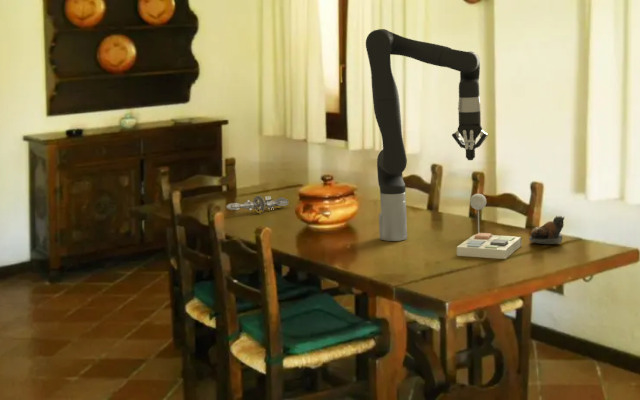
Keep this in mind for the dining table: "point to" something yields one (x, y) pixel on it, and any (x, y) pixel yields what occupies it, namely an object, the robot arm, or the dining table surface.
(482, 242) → the key slate
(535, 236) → the brown cat figurine
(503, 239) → the key sage
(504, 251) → the keypad
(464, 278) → the dining table surface
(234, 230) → the dining table surface
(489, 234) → the key terracotta
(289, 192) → the dining table surface
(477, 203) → the lollipop
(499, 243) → the key charcoal
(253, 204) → the spaceship
